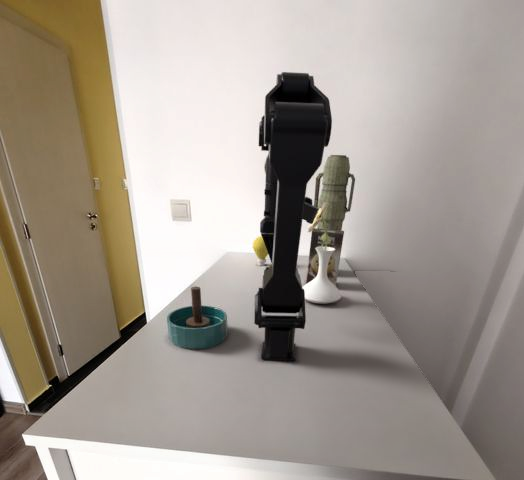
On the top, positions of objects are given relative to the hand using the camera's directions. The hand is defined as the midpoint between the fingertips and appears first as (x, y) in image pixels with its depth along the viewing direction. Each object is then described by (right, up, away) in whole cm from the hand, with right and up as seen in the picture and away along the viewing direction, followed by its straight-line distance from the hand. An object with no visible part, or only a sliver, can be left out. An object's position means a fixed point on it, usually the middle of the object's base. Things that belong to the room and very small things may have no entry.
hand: (275, 259), depth 76 cm
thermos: (+18, +6, +39) cm, 43 cm away
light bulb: (-3, +10, +45) cm, 46 cm away
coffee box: (+15, -1, +27) cm, 31 cm away
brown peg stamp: (-16, -17, -6) cm, 25 cm away
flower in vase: (+12, -7, +15) cm, 20 cm away
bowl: (-16, -18, -6) cm, 25 cm away
